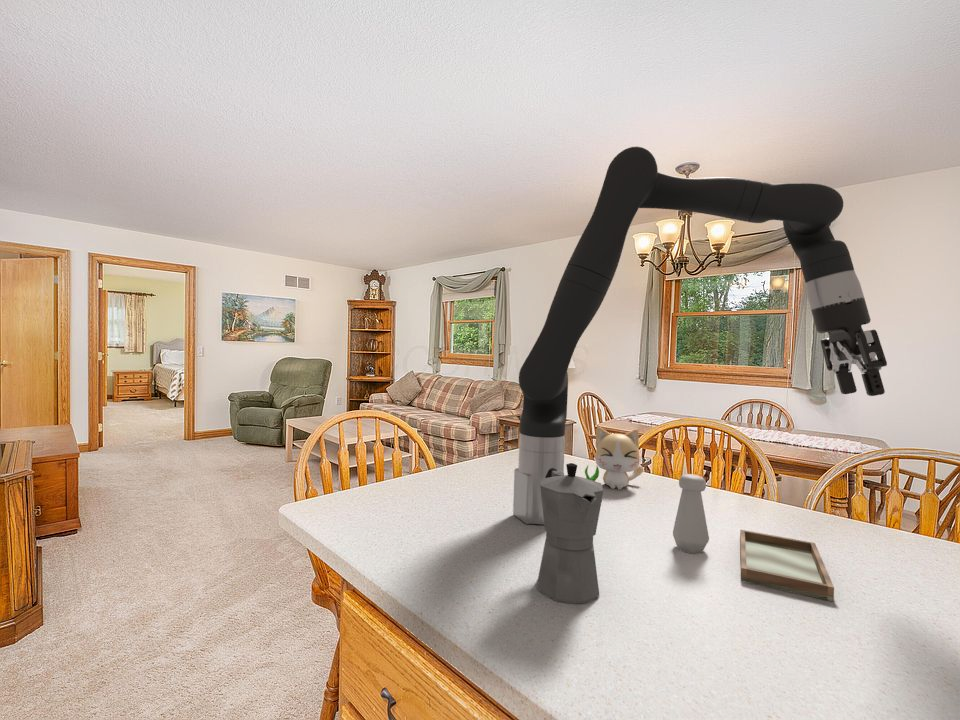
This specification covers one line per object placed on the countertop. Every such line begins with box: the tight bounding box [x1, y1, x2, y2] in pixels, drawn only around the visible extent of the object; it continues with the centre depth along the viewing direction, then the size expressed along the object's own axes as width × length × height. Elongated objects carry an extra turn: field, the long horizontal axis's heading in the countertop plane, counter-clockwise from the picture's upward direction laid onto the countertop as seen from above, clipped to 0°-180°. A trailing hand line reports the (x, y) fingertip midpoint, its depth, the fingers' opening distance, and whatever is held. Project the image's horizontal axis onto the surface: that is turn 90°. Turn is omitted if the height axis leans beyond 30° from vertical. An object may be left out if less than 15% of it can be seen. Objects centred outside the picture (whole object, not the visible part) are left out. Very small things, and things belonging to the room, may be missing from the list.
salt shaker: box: [672, 473, 710, 555], centre depth 83 cm, size 6×6×13 cm
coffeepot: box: [536, 462, 604, 605], centre depth 69 cm, size 15×9×18 cm, turn 13°
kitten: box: [584, 426, 644, 491], centre depth 122 cm, size 15×10×15 cm, turn 76°
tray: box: [739, 529, 835, 603], centre depth 77 cm, size 18×11×2 cm, turn 151°
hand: (862, 394), depth 80 cm, fingers open, 8 cm apart
